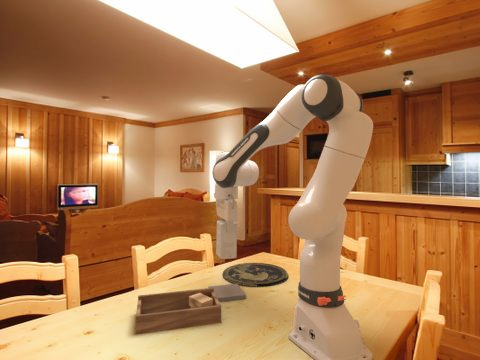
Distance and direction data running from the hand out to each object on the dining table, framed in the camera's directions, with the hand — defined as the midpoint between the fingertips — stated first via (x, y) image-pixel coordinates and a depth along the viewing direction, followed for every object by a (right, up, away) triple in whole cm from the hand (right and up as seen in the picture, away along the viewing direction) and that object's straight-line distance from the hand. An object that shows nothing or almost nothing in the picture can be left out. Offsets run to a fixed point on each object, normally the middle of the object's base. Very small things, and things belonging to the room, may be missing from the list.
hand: (226, 230), depth 111 cm
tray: (-14, -25, -19) cm, 34 cm away
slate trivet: (0, -25, 0) cm, 25 cm away
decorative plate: (+12, -25, +22) cm, 36 cm away
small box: (0, -10, 0) cm, 10 cm away
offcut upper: (-8, -22, -16) cm, 29 cm away
